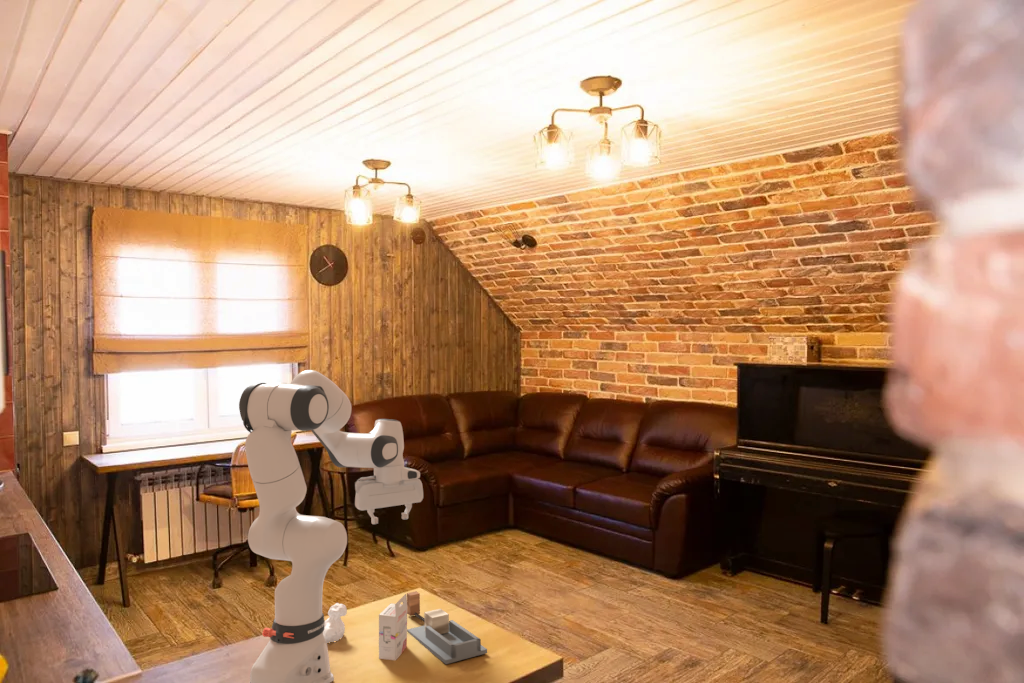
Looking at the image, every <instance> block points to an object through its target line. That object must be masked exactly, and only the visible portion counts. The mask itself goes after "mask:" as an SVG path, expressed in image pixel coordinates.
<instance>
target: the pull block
mask: <svg viewBox="0 0 1024 683" xmlns="http://www.w3.org/2000/svg"><path fill="white" fill-rule="evenodd" d="M406 596H407V616H410V617H412V616H413V617H414V616H415V617H417V618H418V619H419V620H420V621H422V622H423V623H424V625H425V626H430V627H431V628H433V629H434V630H435V631H437V632H438V633H439V634H444V633H448V632H449V621H450V617H449V613H447V612H446V611H445V610H443V609H442V608H437V609H433V610H428V611H424V615H423V616H422V615H420V614H421V606H420V605H421V603H420V600H421V598H420V596H421V595H420V592H418V591H416V590H415V591H411V592H407V593H406Z"/></svg>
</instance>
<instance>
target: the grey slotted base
mask: <svg viewBox="0 0 1024 683" xmlns="http://www.w3.org/2000/svg"><path fill="white" fill-rule="evenodd" d="M407 634H410V635H411V636H412V637H413V638H414V639H415V640H417V642H419V643H420V644H421V645H422V646H424V647H423V648H425V649H427V651H428V652H430V653H431V654H432V655H434V657H436V658H437V659H438V660H440V661H441V662H442V663H443V664H445V665H449V664H452V663H456V662H459V661H460V662H461V661H463V660H467V659H470V658H474V657H477V656H482V655H485V654H487V653H488V648H486V647H485V646H484V645H482V643H481V639H482V638H480V637H478V636H477V635H475V634H473V632H470V631H469V629H466V628H465V627H464V626H462V625H460V624H459V623H457V622H456V621H454V620H453V619H451V620H450V619H449V632H448V633H444V634H439V633H438V632H437V631H435V630H434V629H433V628H431V627H430V626H425V624H423V625H420V626H418V627H411V628H407Z"/></svg>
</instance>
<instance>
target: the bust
mask: <svg viewBox="0 0 1024 683" xmlns="http://www.w3.org/2000/svg"><path fill="white" fill-rule="evenodd" d="M327 611H328V612H327V615H328V618H327V619H325V624H324V631H323V635H324V638H325V641H326V643H329V642H334V641H337V642H339V641H340V640H341V639H342V638H343V637H344V634H345V629H346V627H345V626H346V625H345V623H344V621H343V620H342V618H341V617H345V616H346V615H347V613H348V609H347V606H346V605H345V604H343V603H340V602H335V604H333V605H331V606H330V607H329V610H327ZM340 638H341V639H340ZM339 639H340V640H339ZM334 643H335V642H334ZM329 644H330V643H329Z"/></svg>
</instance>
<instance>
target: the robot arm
mask: <svg viewBox="0 0 1024 683" xmlns="http://www.w3.org/2000/svg"><path fill="white" fill-rule="evenodd" d="M238 410H239V414H240V418H241V421H242V423H243V426H244V428H245V429H246V430H247V432H248V433H249V434H248V435H247V437H246V439H245V442H244V445H245V446H244V448H245V455H246V462H247V466H248V471H249V474H250V477H251V480H252V484H253V488H254V489H255V494H256V497H257V502H258V504H259V515H257V517H256V518H255V519H254V520H253V522H252V523H251V525H250V527H249V530H248V533H247V543H248V546H249V548H250V550H251V551H252V552H253V553H254V554H256V555H259V556H262V557H264V558H267V559H270V560H277V561H287V562H291V565H292V567H291V572H290V574H289V575H288V576H286V577H285V578H283V579H282V580H281V581H279V582H278V583H277V586H276V587H275V589H274V619H273V622H272V626H271V627H270V628H269V627H264V628H263V630H262V636H263V637H265V638H267V637H268V638H269V641H268V642H267V644H266V645H265V647H264V649H263V650H262V651H261V653H260V655H259V656H258V658H257V659H256V660H255V662H254V663H253V665H252V667H251V669H250V675H249V683H332V682H334V681H335V679H334V678H335V677H334V674H333V673H332V672H331V667H330V666H331V664H330V656H329V651H328V650H329V648H328V644H327V643H326V641H325V638H324V635H323V631H324V624H325V621H326V619H325V614H324V613H323V587H324V581H325V578H326V575H327V573H328V571H329V570H330V567H331V566H332V565H333V564H334V563H335V562H337V561H338V560H339V559H340V558H341V557H342V556H343V554H344V552H345V550H346V548H347V545H348V534H347V533H348V532H347V530H346V528H345V526H344V525H343V523H342V522H340V521H338V520H334V519H332V518H330V517H329V518H328V517H326V516H321V515H320V516H319V515H306V514H301V513H299V512H298V511H297V507H298V506H299V505H300V504H301V503H303V501H304V499H305V497H306V494H307V490H308V489H307V484H306V481H305V477H304V473H303V470H302V467H301V465H300V461H299V458H298V455H297V453H296V450H295V448H294V445H293V443H292V431H302V432H308V431H310V432H312V434H313V435H314V436H315V437H316V439H317V440H318V441H319V442H320V444H321V445H322V446H323V447H324V449H325V451H326V452H327V455H328V456H329V459H330V460H331V462H332V463H333V464H334V466H336V467H337V468H359V469H360V468H361V469H362V468H365V469H373V475H370V476H362V477H359V478H358V479H356V481H355V482H354V490H355V497H354V507H355V508H356V509H357V510H359V511H367V514H368V516H369V517H370V518H371V519H370V520H371V522H370V523H371V524H372V525H377V524H379V517H377V516H375V515H374V513H375V509H383V508H389V507H390V508H391V507H396V506H401V505H402V506H403V505H404V506H405V509H404V512H401V519H402V520H408V519H409V514H410V513H411V510H412V508H413V504H415V503H416V504H418V503H422V501H423V499H424V488H423V483H422V480H421V479H420V478H421V472H420V471H419V470H417V469H415V468H410V467H407V466H405V460H404V456H403V455H404V454H403V453H404V449H405V442H404V438H405V437H404V431H403V430H404V429H403V426H402V423H401V421H400V420H397V419H392V418H391V419H389V418H378V419H376V420H375V421H374V425H373V426H374V427H373V429H372V430H371V431H369V432H368V433H366V432H363V433H362V432H360V433H359V432H347V431H342V430H341V429H342V428H343V427H344V426H345V425H346V424H347V423H348V421H349V420H350V418H351V415H352V402H351V401H350V398H349V397H348V395H347V393H345V392H344V391H343V390H342V389H341V388H340V387H339V386H338V385H337V384H336V383H335V382H334V381H332V380H331V379H330V378H328V377H327V376H326V375H324V374H323V373H321V372H320V371H317V370H314V369H307V370H303V371H300V372H298V374H297V375H295V376H294V377H293V379H292V380H291V382H290V383H287V382H270V383H269V382H268V383H267V382H258V383H255V384H252V385H249V386H247V387H246V388H245V389H244V390H243V392H242V394H241V396H240V398H239V402H238Z"/></svg>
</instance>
